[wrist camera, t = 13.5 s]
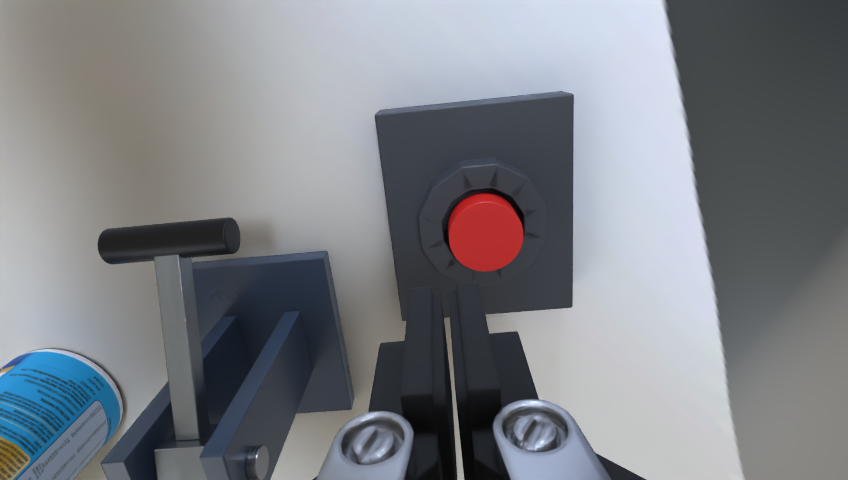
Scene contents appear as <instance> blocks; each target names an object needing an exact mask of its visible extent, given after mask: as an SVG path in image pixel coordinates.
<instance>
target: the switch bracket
mask: <svg viewBox="0 0 848 480" xmlns="http://www.w3.org/2000/svg"><path fill="white" fill-rule="evenodd" d="M192 271H193V280H194V289H195V298H196V307H197V316H198V325H199V333H200V342H201V351H202V360H203V369H204V378H205V387H206V396H207V405H208V413H209V422H210V424H218V426H217V427H216V429H215V431H214V432H213V434H212V436H211V437H210V439H209V441H208V443H207V444H206V446H205V448H204V449H203V451H202V453H201V454H200V457H199V458H200V461H201V464H202V467H203V470H204V473H205V476H206V479H207V480H270V479H271V476H272V474H273V471H274V469H275V466H276V464H277V461H278V458H279V456H280V453H281V451H282V448H283V446H284V443H285V441H286V438H287V435H288V433H289V430H290V428H291V425H292V423H293V420H294V418H295V415H296V413H310V412H324V411H338V410H351V409H352V406H353V401H354V394H353V388H352V383H351V377H350V372H349V366H348V361H347V356H346V350H345V345H344V339H343V334H342V328H341V323H340V318H339V312H338V307H337V301H336V296H335V290H334V285H333V279H332V274H331V269H330V263H329V258H328V252H327V251H320V252H308V253H297V254H286V255H274V256H263V257H252V258H240V259H229V260H217V261H206V262H195V263H192ZM174 434H175V432H174V424H173V415H172V406H171V398H170V389H169V381H168V382H167V383H166V385H165V386H164V387H163V388H162V389H161V391H160V392H159V393H158V394H157V395H156V397H155V398H154V399H153V400H152V401H151V403H150V404H149V405H148V406H147V407H146V409H145V410H144V411H143V412H142V414H141V415H140V416H139V417H138V418H137V420H136V421H135V422H134V423H133V424H132V426H131V427H130V428H129V429H128V430H127V432H126V433H125V434H124V435H123V436H122V438H121V439H120V440H119V441H118V443H117V444H116V445H115V446H114V447H113V449H112V450H111V451H110V452H109V453H108V455H107V456H106V457H105V458H104V459H103V461H102V462H101V466H102V468H103V470H104V473H105V475H106V477H107V480H157V475H156V467H155V458H154V450H155V449H156V448H157V447H158V446H160V445H161V444H162V443H163V442H165V441H166V440H167V439H168V438H170V437H171V436H172V435H174Z"/></svg>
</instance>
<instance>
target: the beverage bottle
mask: <svg viewBox="0 0 848 480" xmlns="http://www.w3.org/2000/svg"><path fill="white" fill-rule="evenodd" d="M122 414H123V405H122V399H121V396H120V393H119V391H118V389H117V387H116V385H115V383H114V382H113V381H112V379H111V378H110V377H109V376H108V375H107V373H106V372H104V371H103V370H102V369H101V368H100V367H99V366H97V365H96V364H95V363H93V362H91V361H90V360H88V359H86V358H84V357H82V356H80V355H77V354H75V353H72V352H68V351H64V350H57V349H41V350H35V351H30V352H27V353H25V354H22V355H20V356H18V357H17V358H15V359H13V360H12V361H11V362H9V363H8V364H6V365H5V366H4V367H2V368H1V369H0V480H74V479H75V478H76V476H77V475H78V474H79V473H80V472H81V471H82V469H83V468H84V467H85V466H86V465H87V463H88V462H89V461H90V460H91V459H92V458H93V457H94V455H95V454H96V453H97V452H98V451H99V450H100V448H101V447H103V446H104V445H105V443H106V442H107V441H108V440H109V439H110V438H111V437H112V436H113V434H114V433H115V432H116V430H117V429H118V427H119V425H120V422H121V419H122Z"/></svg>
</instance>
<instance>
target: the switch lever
mask: <svg viewBox="0 0 848 480" xmlns="http://www.w3.org/2000/svg"><path fill="white" fill-rule="evenodd" d="M239 246H240V231H239V227H238V225H237V223H236V221H235V220H234V219H233V218H219V219H208V220H198V221H187V222H176V223H165V224H154V225H144V226H133V227H122V228H111V229H106V230H104V231H103V232H102V233H101V234H100V236H99V239H98V251H99V254H100V256H101V258H102V259H103V260H104V261H105V262H106V263H108V264H123V263H134V262H145V261H155V268H156V277H157V286H158V294H159V303H160V311H161V320H162V329H163V337H164V346H165V355H166V363H167V372H168V380H169V389H170V398H171V406H172V415H173V424H174V432H175V434H174V435H172V436H171V437H170V438H168V439H167V440H166V441H165V442H163V443H162V444H161V445H160V446H158V447H157V448H156V449H155V450H154V458H155V467H156V475H157V480H207V479H206V476H205V473H204V470H203V467H202V464H201V461H200V458H199V457H200V454H201V453H202V451H203V449H204V448H205V446H206V444H207V443H208V441H209V439H210V437H211V436H212V434H213V432H214V431H215V429H216V427H217V426H218V424H210V422H209V413H208V405H207V396H206V387H205V378H204V369H203V360H202V351H201V342H200V333H199V325H198V316H197V307H196V298H195V289H194V280H193V271H192V262H191V257H202V256H213V255H224V254H234V253H236V252H237V251H238V249H239Z"/></svg>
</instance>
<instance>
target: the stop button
mask: <svg viewBox="0 0 848 480" xmlns="http://www.w3.org/2000/svg"><path fill="white" fill-rule="evenodd" d="M448 235H449V244H450V248H451V251H452V253H453V254H454V256H455V257H456V259H457V260H458V261H459V262H460V263H461V264H463V265H464V266H466V267H468V268H470V269H473V270H476V271H494V270H497V269H500V268H502V267H504V266H506V265H507V264H509V263H510V262H511V261H512V260H513V259H514V258H515V257H516V256H517V254H518V253H519V251H520V249H521V247H522V243H523V235H524V234H523V227H522V224H521V222H520V219H519V218H518V216H517V214H516V212H515V210H514V208H513V207H512V206H511V204H510V203H509V202H508V201H507V200H505V199H504V198H503V197H501V196H499V195H496V194H493V193H476V194H472V195H470V196H467V197H466V198H464V199H462V200H461V201H460V202H459V203H458V204H457V205H456V206H455V207H454V209H453V210H452V212H451V214H450V217H449V221H448Z"/></svg>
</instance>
